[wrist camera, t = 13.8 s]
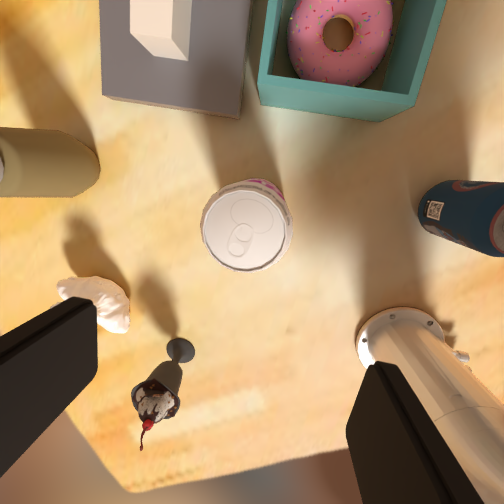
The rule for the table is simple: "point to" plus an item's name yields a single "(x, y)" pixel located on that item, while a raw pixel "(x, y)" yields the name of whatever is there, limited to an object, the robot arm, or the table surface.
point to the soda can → (466, 214)
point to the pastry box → (352, 98)
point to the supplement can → (247, 225)
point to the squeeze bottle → (44, 164)
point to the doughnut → (357, 53)
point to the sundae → (162, 387)
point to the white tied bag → (100, 300)
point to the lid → (176, 53)
